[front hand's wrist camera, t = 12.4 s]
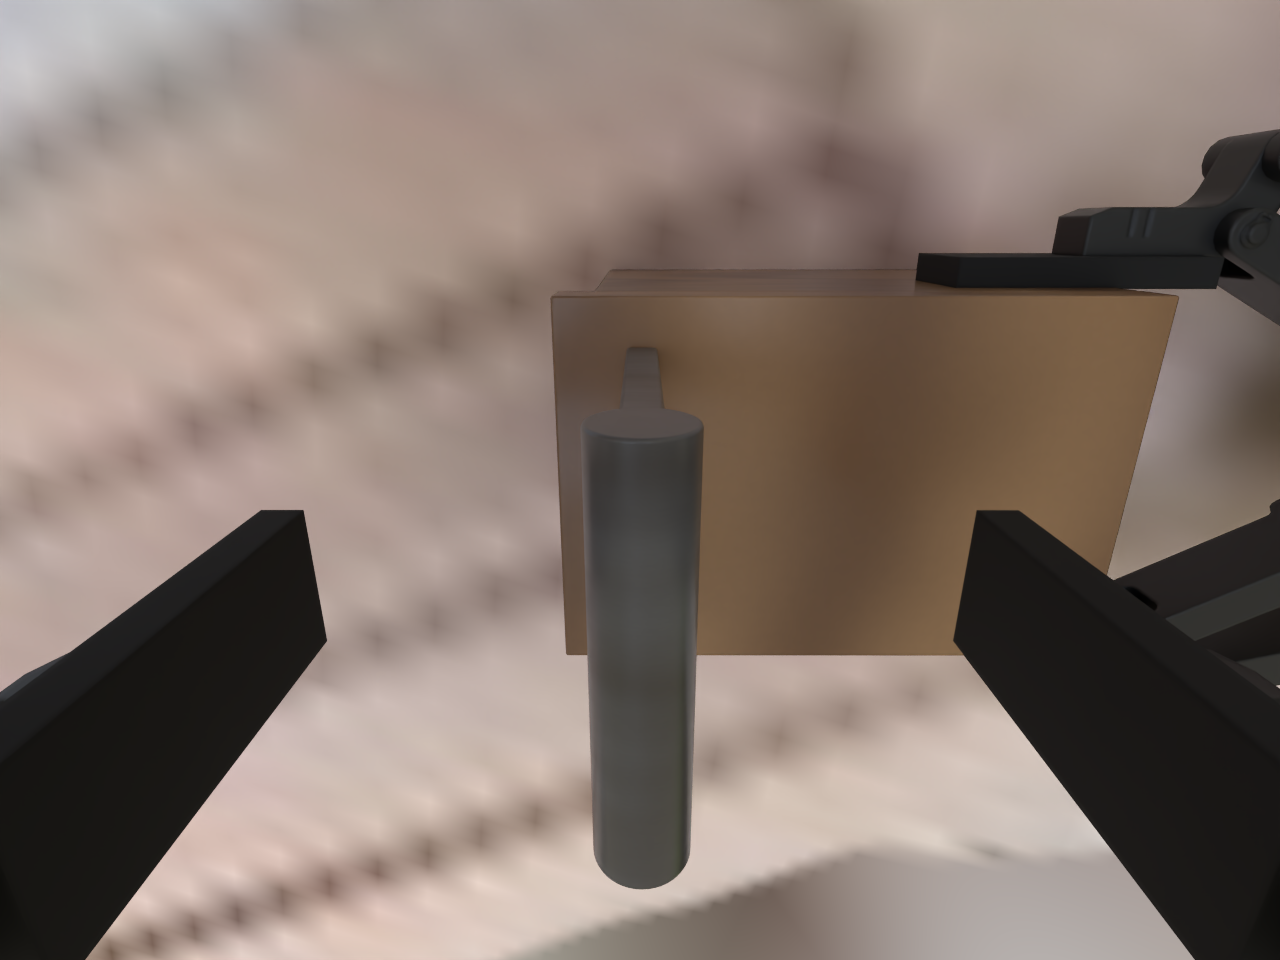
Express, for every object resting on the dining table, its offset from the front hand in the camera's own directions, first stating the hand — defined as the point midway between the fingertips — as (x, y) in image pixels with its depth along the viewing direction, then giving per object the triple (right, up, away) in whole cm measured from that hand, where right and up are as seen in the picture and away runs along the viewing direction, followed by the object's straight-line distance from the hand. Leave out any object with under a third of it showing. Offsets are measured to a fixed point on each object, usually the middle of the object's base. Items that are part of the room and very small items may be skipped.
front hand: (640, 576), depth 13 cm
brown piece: (+5, +2, +5) cm, 7 cm away
